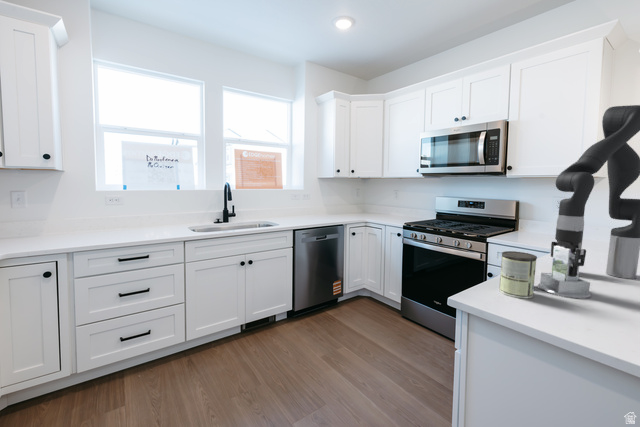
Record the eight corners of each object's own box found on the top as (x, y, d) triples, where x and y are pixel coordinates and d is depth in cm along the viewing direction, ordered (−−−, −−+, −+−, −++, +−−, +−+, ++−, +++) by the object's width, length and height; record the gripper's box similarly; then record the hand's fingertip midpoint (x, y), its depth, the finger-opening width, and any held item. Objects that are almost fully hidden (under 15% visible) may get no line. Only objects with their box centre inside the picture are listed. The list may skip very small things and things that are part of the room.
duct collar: (529, 282, 118) (530, 270, 117) (569, 284, 117) (571, 272, 116) (555, 297, 103) (556, 283, 103) (602, 299, 102) (604, 285, 101)
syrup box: (578, 287, 108) (582, 248, 106) (565, 289, 106) (569, 249, 105) (562, 282, 113) (565, 244, 112) (549, 283, 112) (553, 245, 110)
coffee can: (495, 286, 113) (498, 250, 112) (527, 290, 110) (531, 252, 108) (502, 296, 103) (505, 256, 102) (537, 300, 100) (541, 259, 99)
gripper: (545, 225, 115) (541, 267, 117) (573, 231, 101) (568, 279, 102) (566, 225, 114) (562, 268, 116) (597, 231, 100) (592, 280, 102)
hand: (565, 273), depth 109 cm, fingers closed on syrup box, 6 cm apart
